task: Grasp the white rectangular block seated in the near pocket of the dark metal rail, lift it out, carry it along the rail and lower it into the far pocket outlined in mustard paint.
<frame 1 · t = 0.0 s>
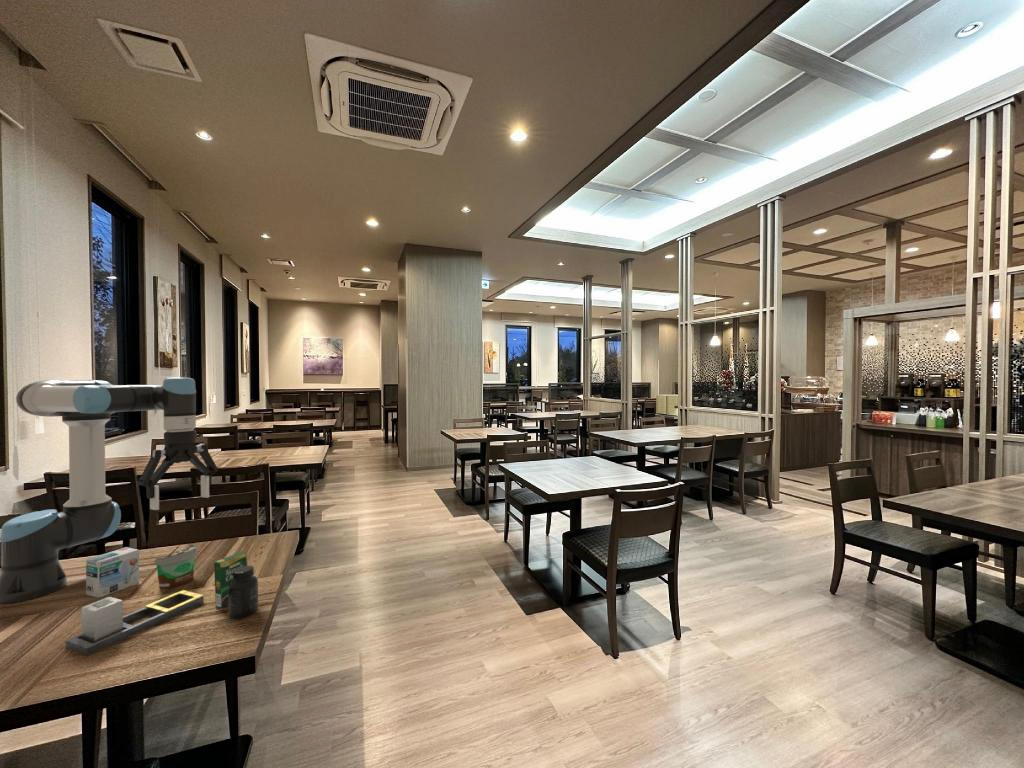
hand: (181, 503, 126), 28 cm above the table, fingers open, 13 cm apart
white rectangular block: (102, 640, 105), resting in rail
food container: (182, 583, 136), on the table
supplement bottle: (243, 613, 117), on the table
light bulb box: (113, 589, 132), on the table
rail: (140, 623, 113), on the table
coffee box: (231, 602, 123), on the table
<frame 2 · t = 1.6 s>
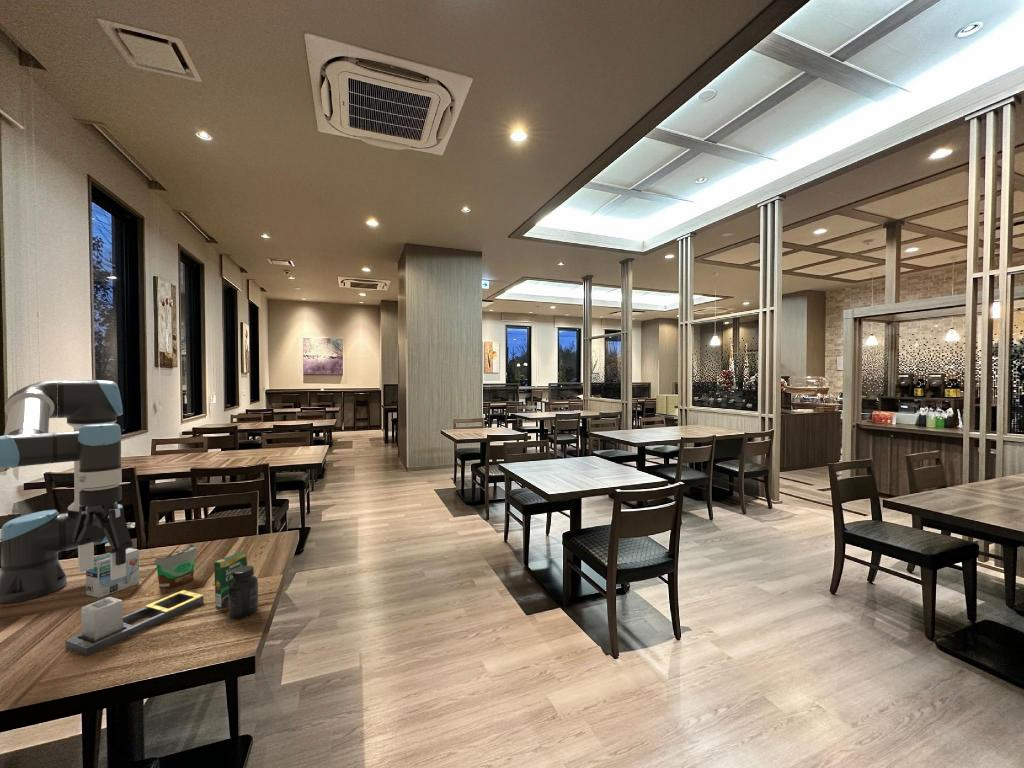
hand: (102, 574, 105), 16 cm above the table, fingers open, 13 cm apart
nothing on the table moved.
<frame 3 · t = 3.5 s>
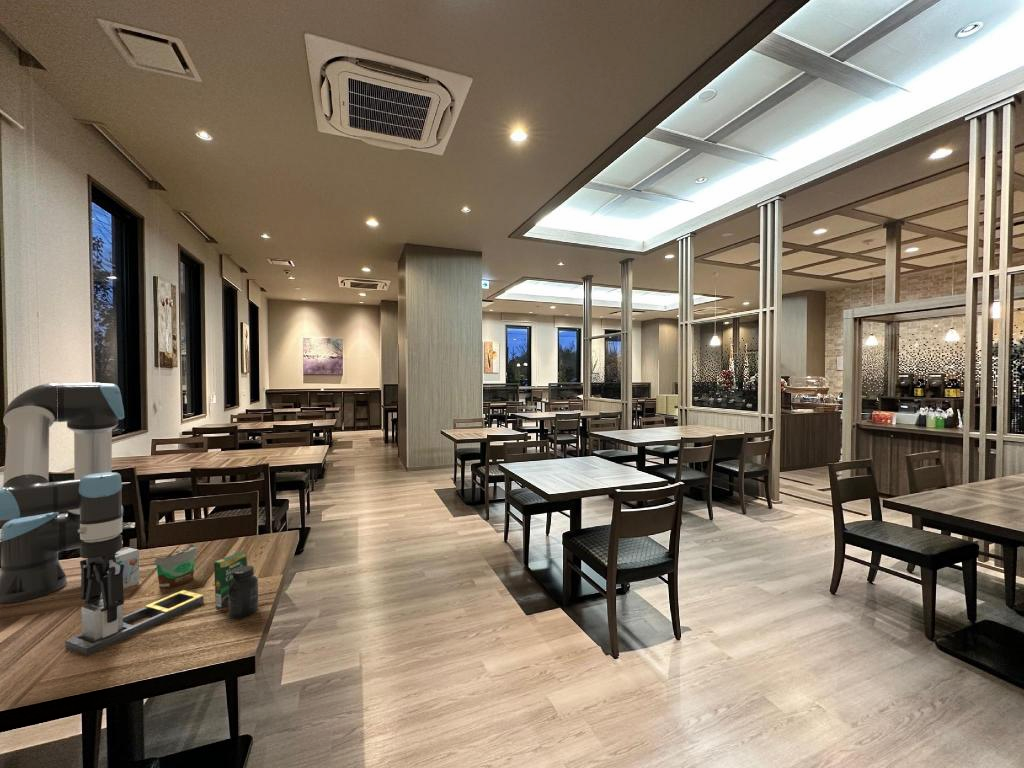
hand: (102, 631, 105), 2 cm above the table, fingers closed on white rectangular block, 5 cm apart
white rectangular block: (102, 640, 105), resting in rail, touching gripper
everything else where it was.
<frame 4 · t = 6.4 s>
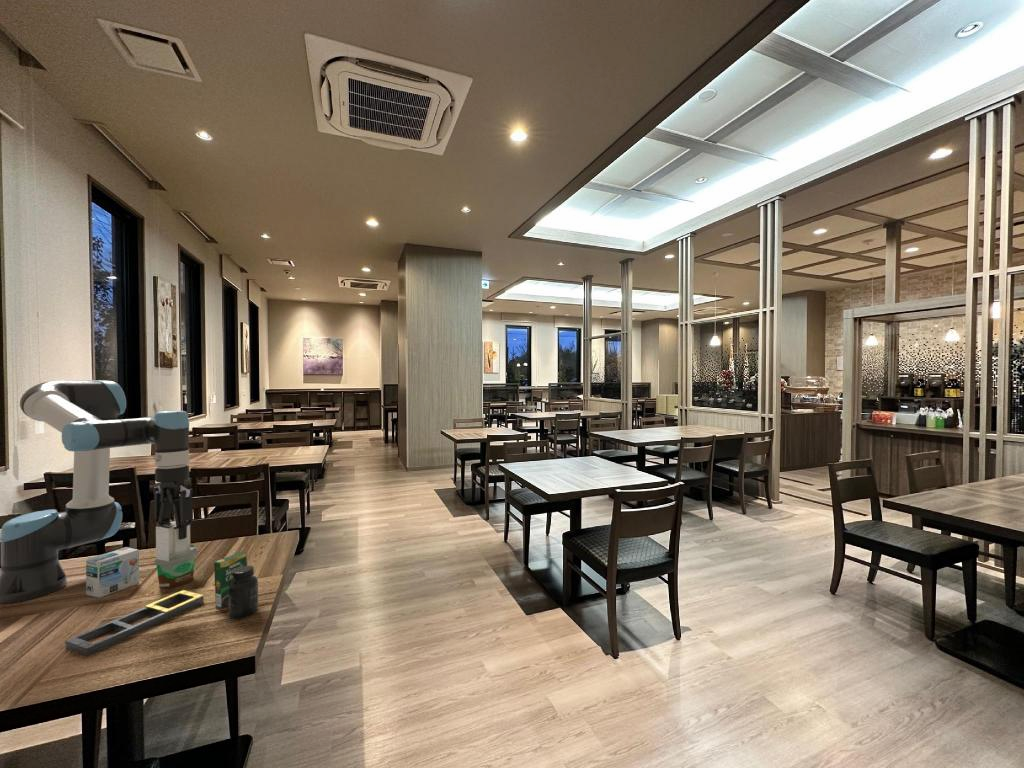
hand: (173, 548, 120), 17 cm above the table, fingers closed on white rectangular block, 5 cm apart
white rectangular block: (173, 556, 120), point 15 cm above the table, touching gripper
everything else where it was.
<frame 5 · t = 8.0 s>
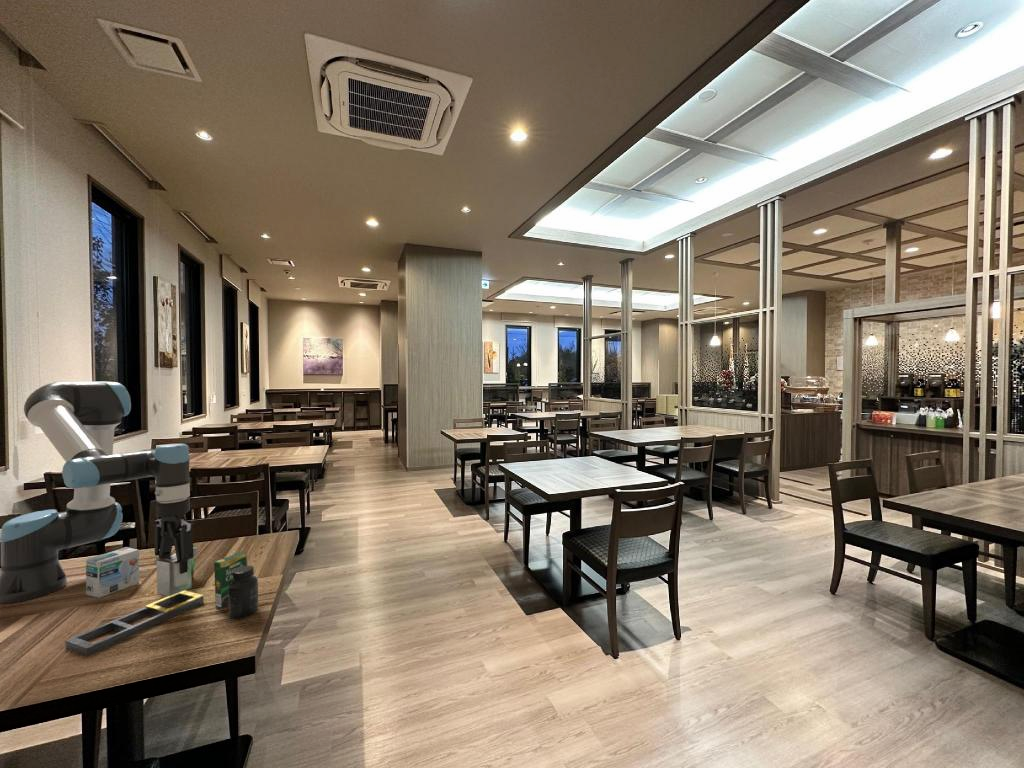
hand: (174, 582, 120), 7 cm above the table, fingers closed on white rectangular block, 5 cm apart
white rectangular block: (174, 590, 120), point 5 cm above the table, touching gripper
everything else where it was.
when the fingers open (3 cm above the table, at t = 9.2 s): white rectangular block stays where it is, resting in rail.
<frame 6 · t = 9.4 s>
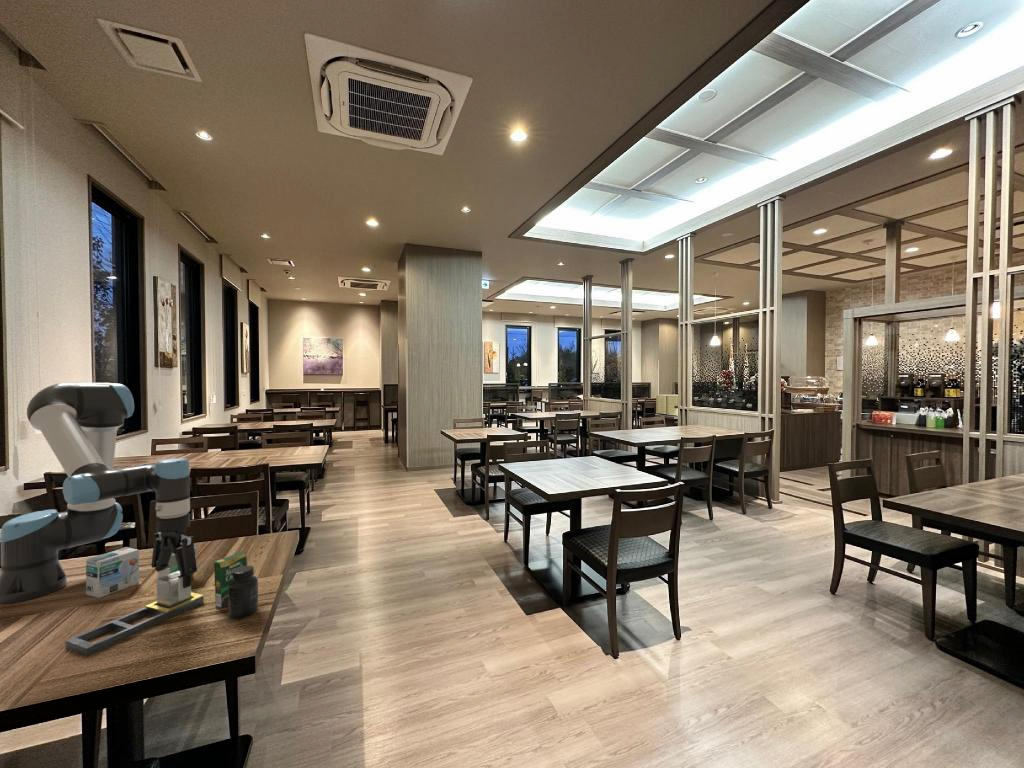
hand: (174, 595, 120), 4 cm above the table, fingers open, 8 cm apart
white rectangular block: (174, 608, 120), resting in rail
everything else where it was.
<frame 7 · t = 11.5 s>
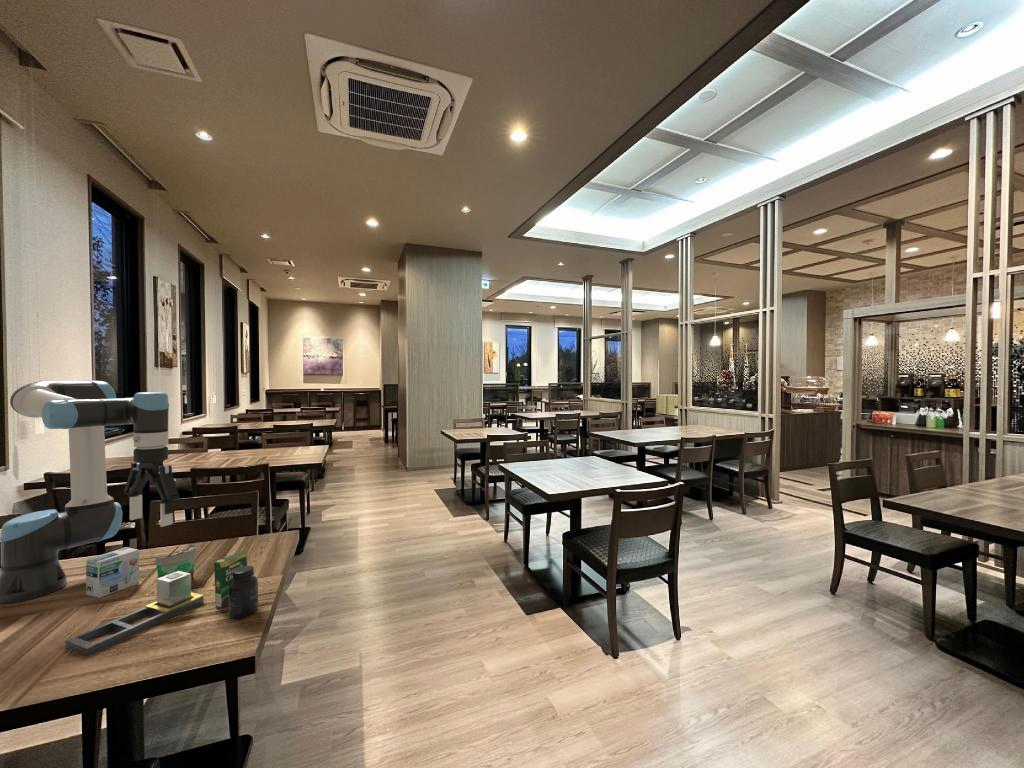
hand: (150, 522, 121), 24 cm above the table, fingers open, 13 cm apart
nothing on the table moved.
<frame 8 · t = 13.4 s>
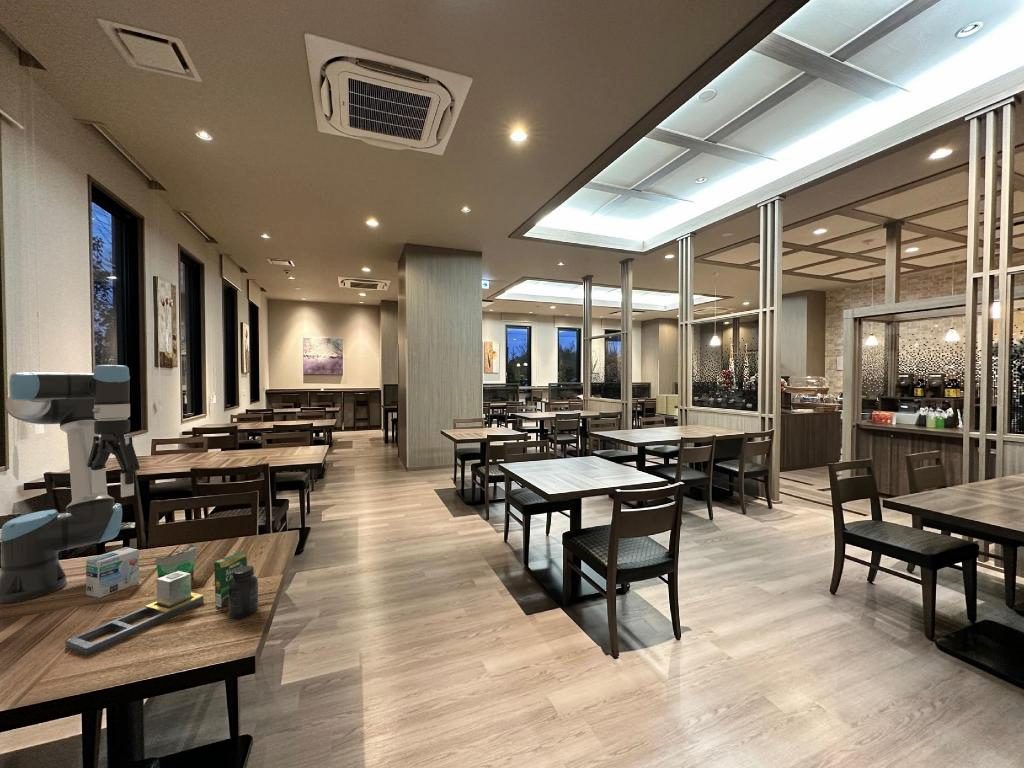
hand: (113, 494, 122), 32 cm above the table, fingers open, 13 cm apart
nothing on the table moved.
at the end: white rectangular block 0.0 cm from the target spot on the rail, point 0.0 cm above the rail's base; white rectangular block tilted 0°; the gripper is holding nothing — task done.
